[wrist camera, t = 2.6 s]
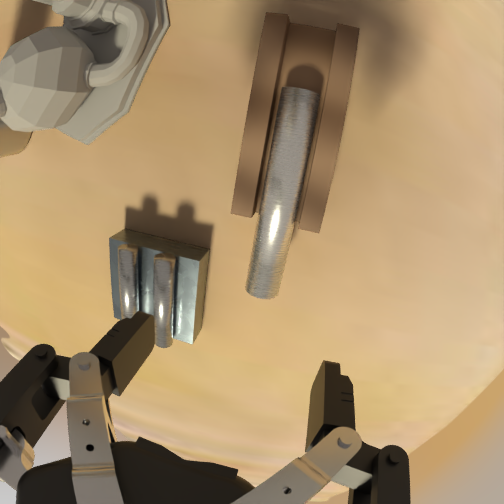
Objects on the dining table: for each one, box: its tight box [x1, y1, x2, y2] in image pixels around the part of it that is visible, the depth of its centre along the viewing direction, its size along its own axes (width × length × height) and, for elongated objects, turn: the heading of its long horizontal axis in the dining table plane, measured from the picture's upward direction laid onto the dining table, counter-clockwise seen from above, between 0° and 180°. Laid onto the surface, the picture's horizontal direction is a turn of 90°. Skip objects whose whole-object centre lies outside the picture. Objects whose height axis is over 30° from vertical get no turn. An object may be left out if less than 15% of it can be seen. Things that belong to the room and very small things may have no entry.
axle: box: [245, 87, 321, 299], centre depth 22 cm, size 16×3×3 cm, turn 170°
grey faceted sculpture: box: [0, 0, 170, 145], centre depth 17 cm, size 20×15×15 cm
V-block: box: [109, 229, 210, 348], centre depth 30 cm, size 10×10×5 cm
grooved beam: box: [231, 12, 359, 233], centre depth 21 cm, size 16×7×5 cm, turn 170°
